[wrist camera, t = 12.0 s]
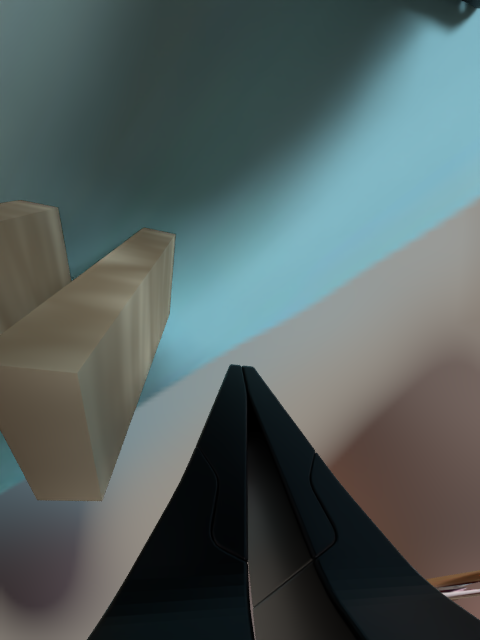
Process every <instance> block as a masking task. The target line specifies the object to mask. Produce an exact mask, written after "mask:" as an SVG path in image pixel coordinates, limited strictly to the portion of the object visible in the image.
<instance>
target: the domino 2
mask: <svg viewBox="0 0 480 640" xmlns="http://www.w3.org/2000/svg"><path fill="white" fill-rule="evenodd" d="M175 236H176V234H172V233H168V232H163V231H158V230H153V229H149V228H143V229H141V230H140V231H139V232H137V233H136V234H134V235H133V236H132V237H130V238H129V239H128V240H126V241H125V242H124V243H122V244H121V245H120V246H118V247H117V248H116V249H114V250H113V251H112V252H110V253H109V254H108V255H106V256H105V257H104V258H102V259H101V260H100V261H98V262H97V263H96V264H94V265H93V266H92V267H90V268H89V269H88V270H86V271H85V272H84V273H82V274H81V275H80V276H78V277H77V278H76V279H74V280H73V281H72V282H70V283H69V284H68V285H66V286H65V287H64V288H62V289H61V290H60V291H58V292H57V293H56V294H54V295H53V296H52V297H50V298H49V299H47V300H46V301H45V302H43V303H42V304H41V305H39V306H38V307H37V308H35V309H34V310H33V311H31V312H30V313H29V314H27V315H26V316H25V317H23V318H22V319H21V320H19V321H18V322H17V323H15V324H14V325H13V326H11V327H10V328H9V329H7V330H6V331H5V332H3V333H2V334H1V335H0V430H1V432H2V434H3V436H4V438H5V440H6V442H7V444H8V446H9V447H10V449H11V451H12V453H13V455H14V457H15V459H16V461H17V463H18V464H19V466H20V468H21V470H22V472H23V474H24V476H25V478H26V480H27V482H28V483H29V485H30V487H31V489H32V491H33V493H34V495H35V496H36V498H37V500H65V501H102V500H103V497H104V495H105V492H106V489H107V486H108V484H109V481H110V478H111V475H112V472H113V469H114V467H115V464H116V461H117V459H118V456H119V453H120V450H121V447H122V444H123V441H124V439H125V436H126V433H127V431H128V428H129V425H130V422H131V420H132V417H133V414H134V411H135V408H136V406H137V403H138V400H139V397H140V395H141V392H142V389H143V386H144V383H145V381H146V378H147V375H148V372H149V369H150V367H151V364H152V361H153V358H154V356H155V353H156V350H157V347H158V344H159V342H160V339H161V336H162V333H163V331H164V328H165V325H166V322H167V319H168V317H169V313H170V300H171V287H172V274H173V262H174V249H175Z"/></svg>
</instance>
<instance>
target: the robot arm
mask: <svg viewBox="0 0 480 640" xmlns="http://www.w3.org/2000/svg"><path fill="white" fill-rule="evenodd" d="M462 1H464V2H466V3H468V4H470V5H472V6H474V7H476V8H480V0H462ZM247 562H248V564H249V574H250V583H251V593H252V604H253V607H254V608H253V616H254V626H255V636H256V640H480V620H479V619H477V618H476V617H475V616H473V615H472V614H470V613H469V612H467V611H466V610H465V609H463V608H462V607H460V606H459V605H457V604H456V603H455V602H453V601H452V600H450V599H449V598H448V597H446V596H445V595H443V594H442V593H441V592H440V591H438V590H437V589H436V588H435V587H433V586H432V585H431V584H430V583H429V582H428V581H427V580H425V579H424V578H423V577H422V576H421V575H420V574H419V573H418V572H417V571H416V570H415V569H414V568H413V567H412V566H411V565H410V564H409V563H408V562H407V561H406V559H405V558H404V557H403V556H402V555H401V554H400V553H399V552H398V550H397V549H396V548H395V547H394V546H393V545H392V544H391V542H390V541H389V540H388V539H387V538H386V537H385V536H384V534H383V533H382V532H381V531H380V530H379V528H378V527H377V526H376V525H375V524H374V523H373V522H372V520H371V519H370V518H369V517H368V516H367V515H366V513H365V512H364V511H363V510H362V509H361V508H360V506H359V505H358V504H357V503H356V502H355V501H354V499H353V498H352V497H351V496H350V495H349V493H348V492H347V491H346V490H345V489H344V487H343V486H342V485H341V484H340V483H339V481H338V480H337V479H336V477H335V476H334V475H333V473H332V472H331V471H330V470H329V468H328V467H327V466H326V464H325V463H324V462H323V460H322V459H321V458H320V456H319V455H318V454H317V453H315V450H314V448H313V447H312V446H311V444H310V443H309V442H308V440H307V439H306V437H305V436H304V435H303V433H302V432H301V431H300V429H299V428H298V427H297V425H296V424H295V423H294V421H293V420H292V419H291V417H290V416H289V414H288V413H287V412H286V410H285V409H284V408H283V406H282V405H281V404H280V402H279V401H278V400H277V398H276V397H275V395H274V394H273V393H272V391H271V390H270V389H269V387H268V386H267V385H266V383H265V382H264V381H263V379H262V378H261V376H260V375H259V374H258V373H257V371H256V370H255V368H253V367H251V366H242V367H241V366H240V365H233V364H231V365H230V366H229V368H228V371H227V373H226V375H225V378H224V380H223V383H222V385H221V387H220V390H219V392H218V395H217V397H216V399H215V402H214V404H213V406H212V409H211V411H210V414H209V416H208V418H207V421H206V423H205V426H204V428H203V430H202V433H201V435H200V438H199V440H198V443H197V445H196V448H195V449H194V452H193V454H192V456H191V459H190V461H189V463H188V466H187V468H186V470H185V472H184V474H183V476H182V479H181V481H180V483H179V485H178V487H177V488H176V491H175V492H174V494H173V496H172V498H171V500H170V502H169V503H168V505H167V507H166V509H165V510H164V512H163V514H162V516H161V518H160V519H159V521H158V523H157V525H156V526H155V528H154V530H153V532H152V534H151V535H150V537H149V539H148V540H147V542H146V544H145V546H144V548H143V549H142V551H141V553H140V555H139V556H138V558H137V560H136V562H135V563H134V565H133V567H132V569H131V570H130V572H129V574H128V576H127V577H126V579H125V581H124V582H123V584H122V586H121V587H120V589H119V591H118V592H117V594H116V596H115V597H114V599H113V601H112V602H111V604H110V605H109V607H108V609H107V610H106V612H105V613H104V615H103V616H102V618H101V619H100V621H99V623H98V624H97V626H96V627H95V629H94V630H93V632H92V633H91V634H90V636H89V637H88V639H87V640H255V639H254V632H253V625H252V618H251V610H250V599H249V582H248V564H247Z"/></svg>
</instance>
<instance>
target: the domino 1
mask: <svg viewBox="0 0 480 640" xmlns="http://www.w3.org/2000/svg"><path fill="white" fill-rule="evenodd" d="M70 282H71V276H70V270H69V265H68V259H67V254H66V248H65V243H64V237H63V232H62V226H61V221H60V215H59V210H58V207H53V206H48V205H43V204H38V203H33V202H28V201H23V200H18V201H11V202H5V203H0V335H1V334H2V333H3V332H5V331H6V330H7V329H9V328H10V327H11V326H13V325H14V324H15V323H17V322H18V321H19V320H21V319H22V318H23V317H25V316H26V315H27V314H29V313H30V312H31V311H33V310H34V309H35V308H37V307H38V306H39V305H41V304H42V303H43V302H45V301H46V300H47V299H49V298H50V297H52V296H53V295H54V294H56V293H57V292H58V291H60V290H61V289H62V288H64V287H65V286H66V285H68V284H69V283H70Z"/></svg>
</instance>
